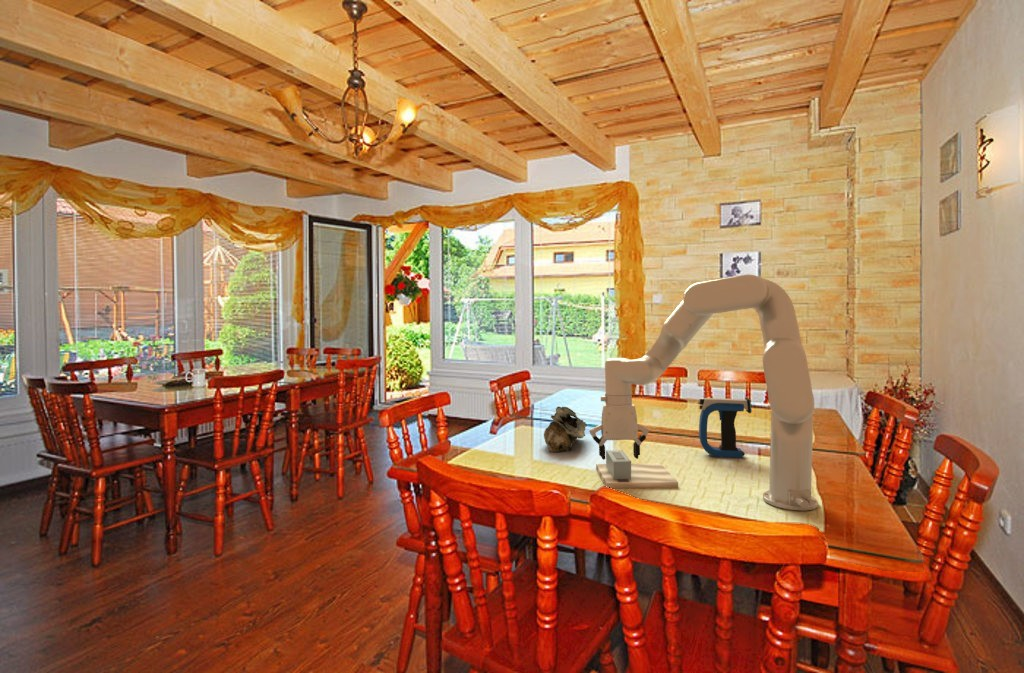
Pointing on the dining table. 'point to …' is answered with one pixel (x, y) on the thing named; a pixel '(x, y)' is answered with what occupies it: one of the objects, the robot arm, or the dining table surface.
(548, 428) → the hollow geode rock
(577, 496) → the dining table surface
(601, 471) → the subfloor panel
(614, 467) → the block
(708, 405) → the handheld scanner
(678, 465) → the dining table surface
